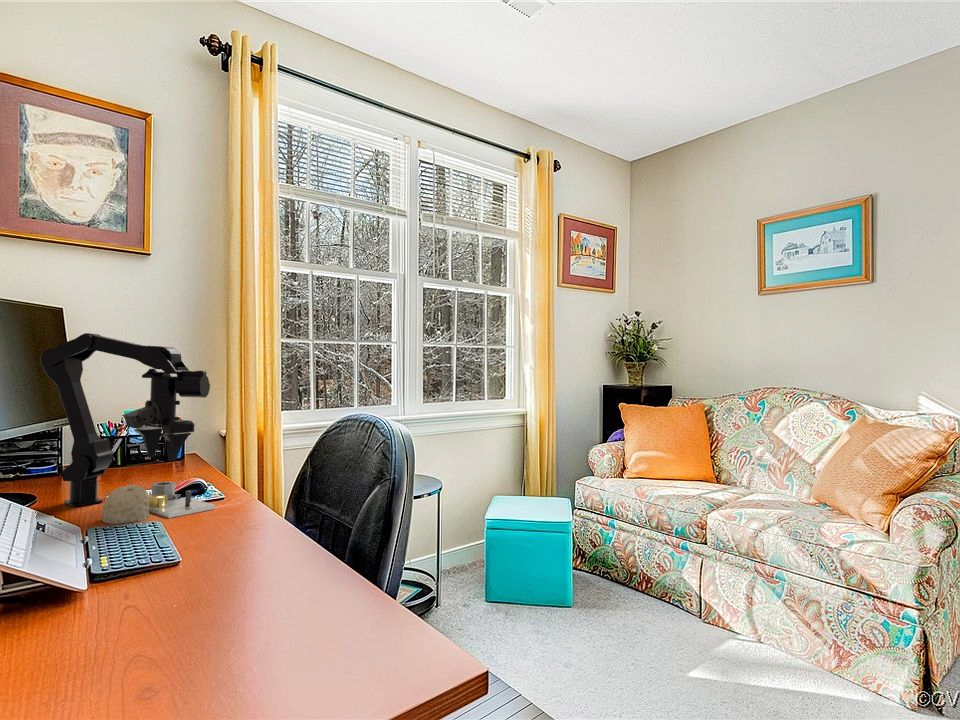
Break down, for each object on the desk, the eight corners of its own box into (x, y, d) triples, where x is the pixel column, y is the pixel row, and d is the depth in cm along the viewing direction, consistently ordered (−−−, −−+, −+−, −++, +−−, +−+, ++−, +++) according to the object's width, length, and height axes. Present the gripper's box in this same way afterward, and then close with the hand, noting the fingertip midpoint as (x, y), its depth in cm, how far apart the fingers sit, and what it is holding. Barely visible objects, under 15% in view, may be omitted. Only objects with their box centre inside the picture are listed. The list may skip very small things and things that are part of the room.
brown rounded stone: (149, 536, 130) (166, 494, 136) (125, 520, 122) (144, 477, 128) (111, 533, 131) (130, 492, 137) (84, 518, 123) (106, 475, 129)
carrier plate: (138, 509, 137) (138, 490, 137) (186, 500, 146) (187, 483, 146) (165, 518, 129) (166, 498, 129) (214, 508, 139) (215, 490, 139)
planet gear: (140, 501, 144) (140, 484, 144) (170, 496, 151) (171, 479, 151) (155, 506, 140) (155, 488, 140) (185, 501, 146) (186, 483, 146)
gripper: (110, 395, 142) (107, 458, 141) (150, 399, 132) (148, 467, 131) (155, 394, 151) (153, 453, 151) (196, 398, 141) (194, 461, 141)
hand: (161, 458), depth 143 cm, fingers open, 9 cm apart
